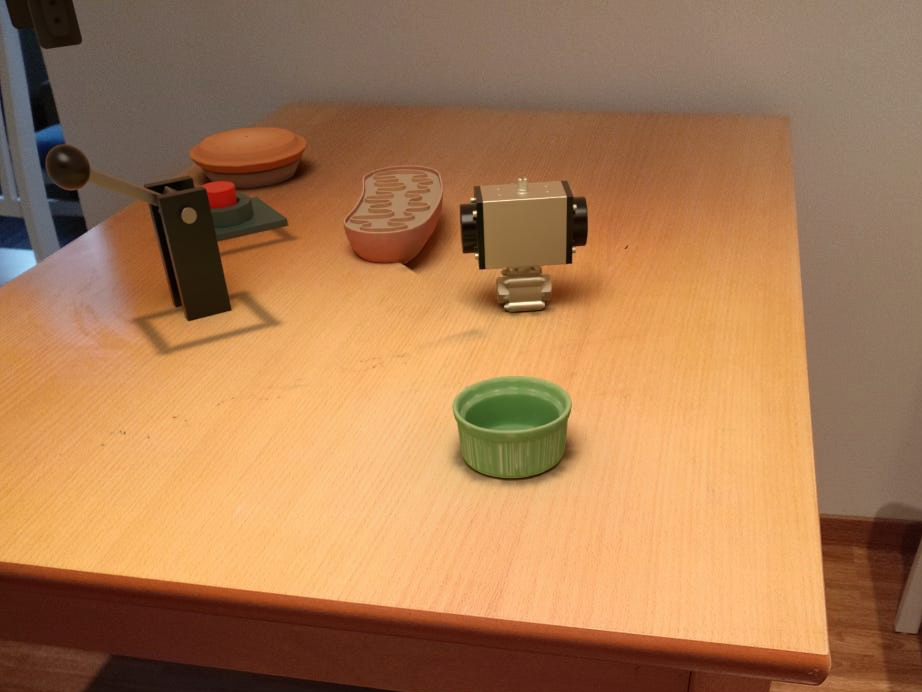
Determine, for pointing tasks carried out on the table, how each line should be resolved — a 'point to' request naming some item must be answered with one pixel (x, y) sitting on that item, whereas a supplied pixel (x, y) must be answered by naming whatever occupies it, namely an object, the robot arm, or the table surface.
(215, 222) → the button box
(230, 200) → the button
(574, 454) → the table surface
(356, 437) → the table surface
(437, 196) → the anatomical model
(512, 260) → the pneumatic valve
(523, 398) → the ramekin
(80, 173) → the lever
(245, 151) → the pie
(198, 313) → the bracket
